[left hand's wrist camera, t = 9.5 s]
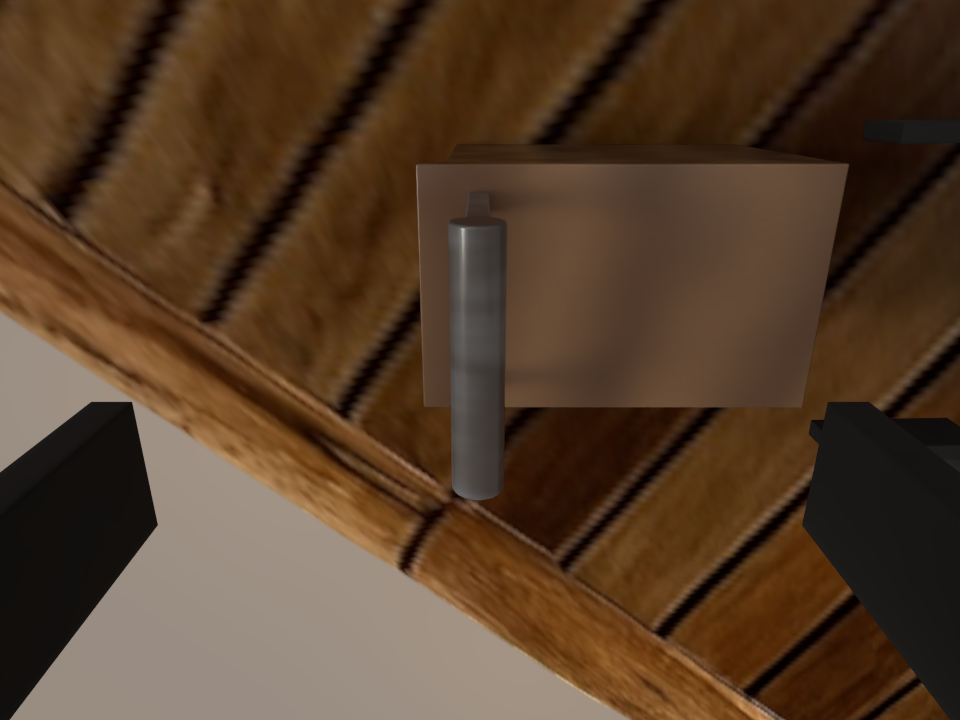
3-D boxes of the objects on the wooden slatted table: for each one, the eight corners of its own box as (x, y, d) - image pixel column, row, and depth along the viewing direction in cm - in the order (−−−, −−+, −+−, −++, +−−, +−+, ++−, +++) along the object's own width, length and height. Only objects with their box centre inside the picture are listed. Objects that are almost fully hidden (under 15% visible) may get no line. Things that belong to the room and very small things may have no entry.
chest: (458, 322, 36) (450, 397, 27) (455, 144, 32) (446, 161, 23) (712, 322, 36) (792, 397, 27) (736, 144, 32) (836, 161, 23)
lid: (425, 397, 27) (401, 524, 19) (417, 161, 23) (385, 192, 15) (792, 398, 27) (925, 525, 19) (836, 161, 23) (1022, 192, 15)
